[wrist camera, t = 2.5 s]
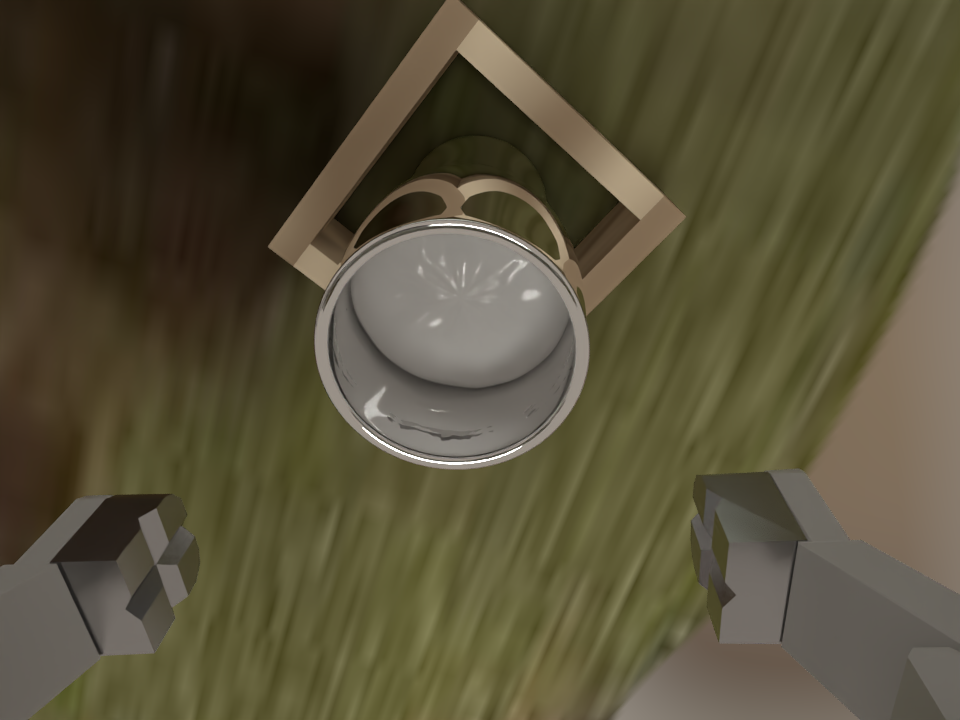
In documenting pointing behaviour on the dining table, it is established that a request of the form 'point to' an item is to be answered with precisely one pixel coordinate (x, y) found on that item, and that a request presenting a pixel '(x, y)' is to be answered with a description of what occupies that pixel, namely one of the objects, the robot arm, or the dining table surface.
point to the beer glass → (457, 313)
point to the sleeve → (456, 29)
